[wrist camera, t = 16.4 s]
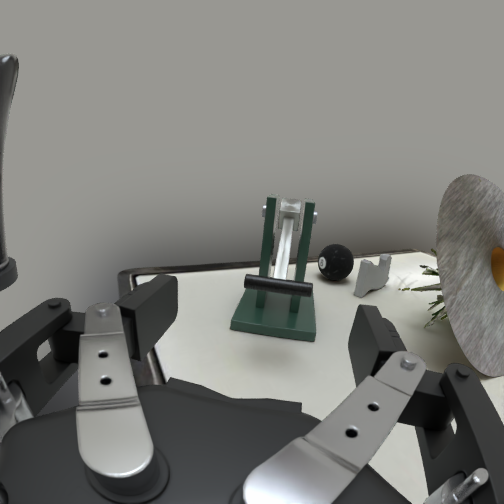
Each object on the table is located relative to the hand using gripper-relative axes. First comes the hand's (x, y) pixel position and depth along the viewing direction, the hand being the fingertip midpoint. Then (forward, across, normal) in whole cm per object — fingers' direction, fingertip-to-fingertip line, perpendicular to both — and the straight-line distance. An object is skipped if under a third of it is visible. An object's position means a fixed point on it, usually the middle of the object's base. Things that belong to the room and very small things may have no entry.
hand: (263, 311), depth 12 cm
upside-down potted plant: (+18, -27, +11) cm, 34 cm away
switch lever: (+17, 0, +2) cm, 17 cm away
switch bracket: (+21, 0, +11) cm, 23 cm away
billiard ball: (+36, -9, +11) cm, 38 cm away
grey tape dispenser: (+33, -16, +11) cm, 38 cm away
